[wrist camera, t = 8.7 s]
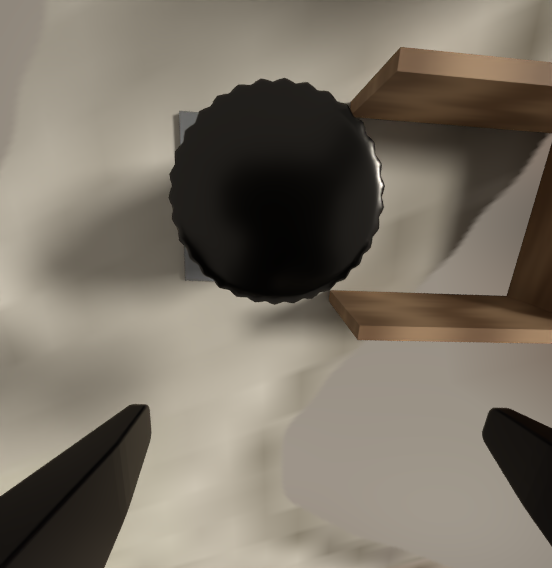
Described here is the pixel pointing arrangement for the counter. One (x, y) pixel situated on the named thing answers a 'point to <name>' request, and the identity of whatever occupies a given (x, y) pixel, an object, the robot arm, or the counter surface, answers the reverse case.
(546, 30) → the counter surface
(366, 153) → the supplement bottle
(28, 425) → the counter surface
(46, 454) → the counter surface
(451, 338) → the open box
